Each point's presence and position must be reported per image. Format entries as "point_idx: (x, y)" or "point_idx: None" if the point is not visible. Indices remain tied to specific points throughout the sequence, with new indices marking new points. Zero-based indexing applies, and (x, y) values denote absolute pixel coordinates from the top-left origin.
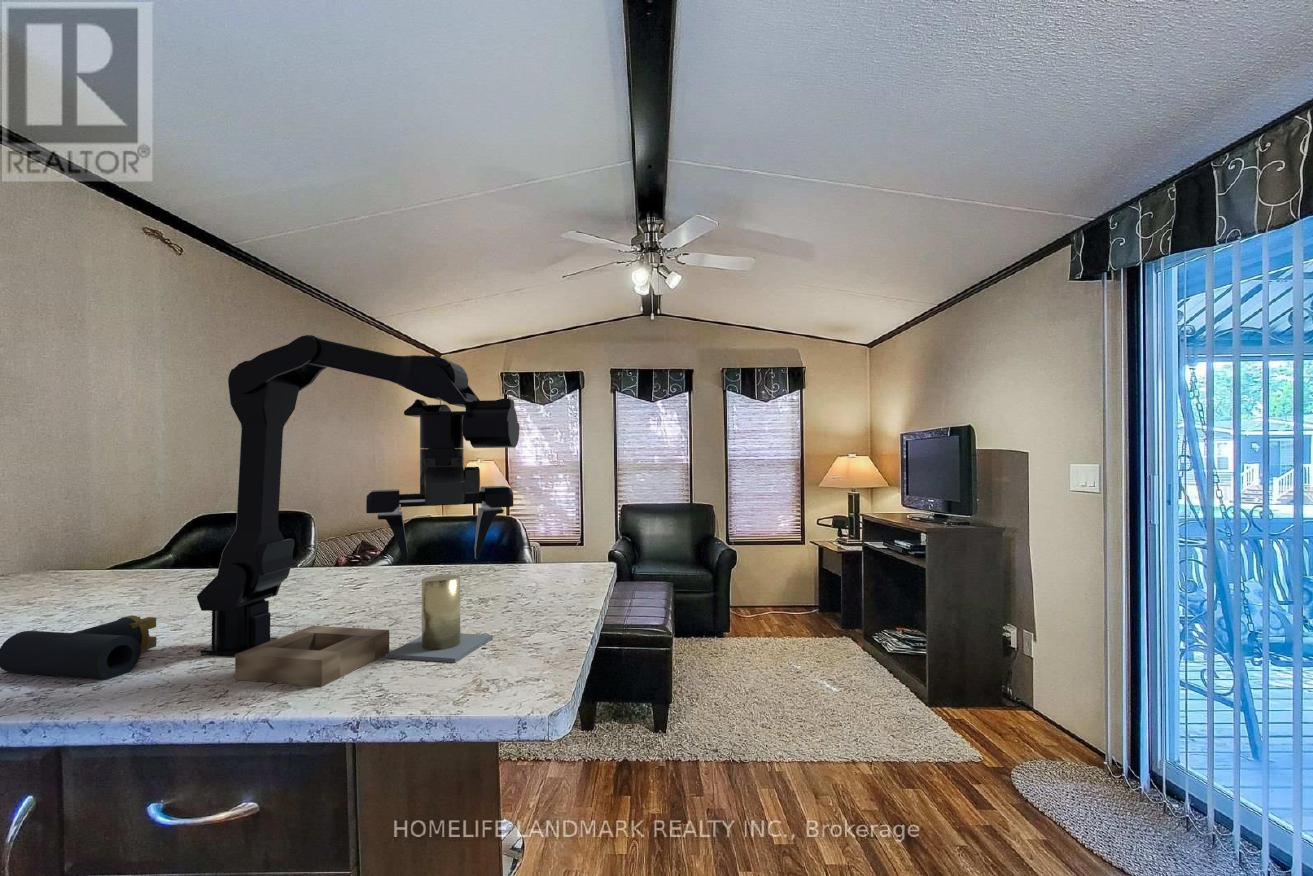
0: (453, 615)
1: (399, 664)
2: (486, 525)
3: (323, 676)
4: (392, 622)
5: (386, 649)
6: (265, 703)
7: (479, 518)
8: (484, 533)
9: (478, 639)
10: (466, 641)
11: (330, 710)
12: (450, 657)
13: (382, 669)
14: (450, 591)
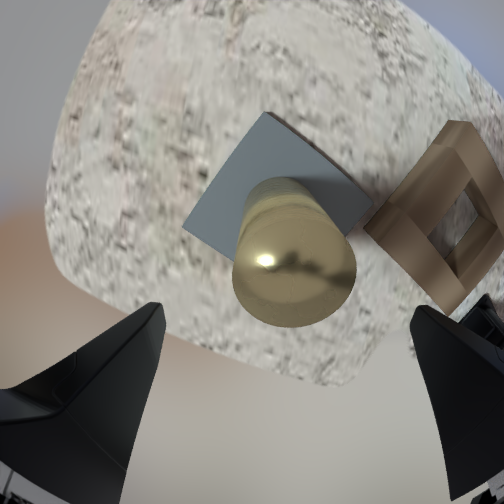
0: (260, 197)
1: (356, 154)
2: (40, 386)
3: (454, 122)
4: (327, 369)
5: (371, 224)
6: (485, 107)
7: (78, 456)
8: (73, 361)
9: (209, 210)
10: (232, 208)
11: (429, 32)
12: (272, 121)
13: (381, 144)
14: (270, 211)
